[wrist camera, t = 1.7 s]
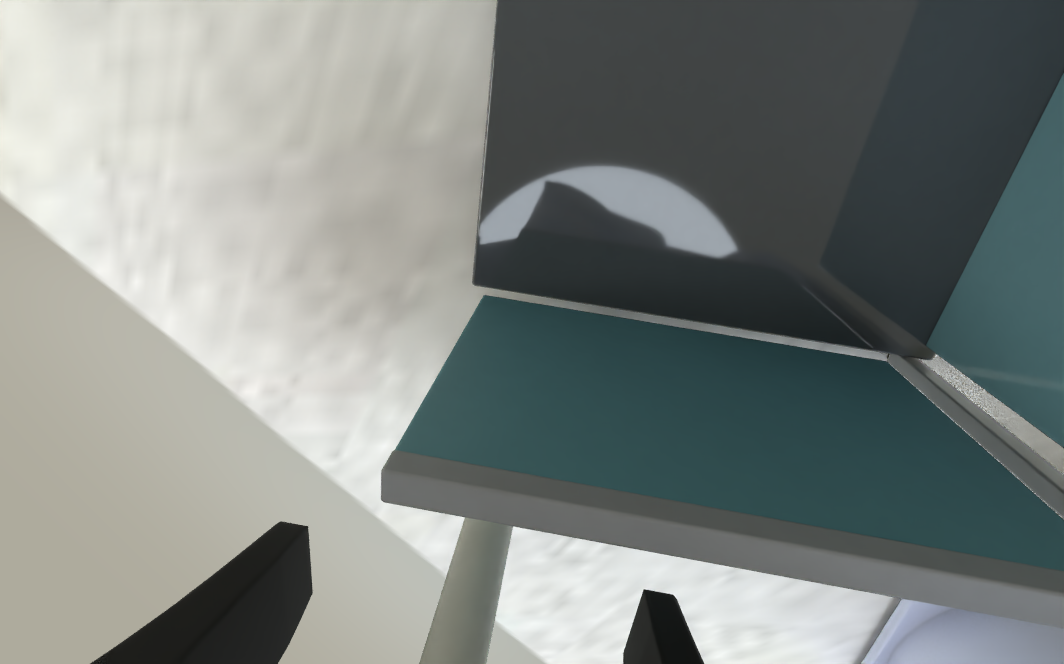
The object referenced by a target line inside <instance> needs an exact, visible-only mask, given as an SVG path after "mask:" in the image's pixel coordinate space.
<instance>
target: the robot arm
mask: <svg viewBox="0 0 1064 664" xmlns="http://www.w3.org/2000/svg"><path fill="white" fill-rule="evenodd" d="M311 595H312V577H311V562H310V548H309V533H308V526H303V525H297V524H292V523H287V522H279V523H277V524H276V525H275V526H273V527H272V528H271V529H270V530H268V531H267V532H266V533H265V534H263V535H262V536H261V537H260V538H258V539H257V540H256V541H255V542H254V543H252V544H251V545H250V546H249V547H247V548H246V549H245V550H244V551H242V552H241V553H240V554H239V555H237V556H236V557H235V558H234V559H232V560H231V561H230V562H229V563H228V564H226V565H225V566H224V567H222V568H221V569H220V570H219V571H217V572H216V573H215V574H214V575H212V576H211V577H210V578H208V579H207V580H206V581H204V582H203V583H202V584H201V585H199V586H198V587H197V588H196V589H194V590H193V591H191V592H190V593H189V594H187V595H186V596H185V597H184V598H182V599H181V600H180V601H178V602H177V603H176V604H175V605H173V606H172V607H170V608H169V609H168V610H166V611H165V612H164V613H162V614H161V615H159V616H158V617H157V618H155V619H154V620H152V621H151V622H150V623H148V624H147V625H146V626H144V627H143V628H141V629H140V630H138V631H137V632H136V633H134V634H133V635H131V636H130V637H129V638H127V639H126V640H124V641H123V642H122V643H120V644H119V645H117V646H116V647H114V648H113V649H111V650H110V651H108V652H107V653H106V654H104V655H103V656H101V657H100V658H98V659H97V660H95V661H94V662H92V663H91V664H278V662H279V660H280V659H281V657H282V655H283V654H284V652H285V650H286V648H287V647H288V645H289V643H290V641H291V639H292V637H293V635H294V633H295V630H296V628H297V626H298V624H299V622H300V620H301V618H302V615H303V613H304V611H305V609H306V606H307V604H308V602H309V600H310V597H311ZM623 664H704V662H703V660H702V658H701V655H700V653H699V651H698V649H697V647H696V644H695V642H694V640H693V637H692V635H691V633H690V630H689V628H688V626H687V623H686V621H685V618H684V616H683V614H682V611H681V609H680V606H679V604H678V601H677V599H676V598H675V596H674V595H671V594H666V593H661V592H655V591H650V590H645V589H644V590H643V594H642V597H641V600H640V603H639V606H638V609H637V612H636V615H635V619H634V622H633V625H632V628H631V631H630V634H629V637H628V640H627V643H626V647H625V650H624V653H623ZM861 664H1064V629H1063V628H1058V627H1053V626H1047V625H1042V624H1036V623H1031V622H1026V621H1020V620H1015V619H1010V618H1004V617H999V616H993V615H988V614H983V613H977V612H972V611H967V610H961V609H956V608H950V607H945V606H940V605H934V604H929V603H924V602H918V601H913V600H907V599H901V601H900V603H899V604H898V606H897V607H896V609H895V610H894V612H893V614H892V615H891V617H890V618H889V620H888V622H887V623H886V625H885V626H884V628H883V630H882V631H881V633H880V634H879V636H878V637H877V639H876V641H875V642H874V644H873V645H872V647H871V649H870V650H869V652H868V653H867V655H866V657H865V658H864V660H863V661H862V663H861Z"/></svg>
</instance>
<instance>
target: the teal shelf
mask: <svg viewBox="0 0 1064 664" xmlns="http://www.w3.org/2000/svg"><path fill="white" fill-rule="evenodd" d="M381 500H382V501H383V502H386V503H391V504H397V505H402V506H407V507H413V508H418V509H424V510H429V511H434V512H440V513H445V514H450V515H456V516H461V517H465V519H464V522H463V526H462V529H461V532H460V535H459V538H458V542H457V545H456V548H455V551H454V554H453V558H452V561H451V564H450V567H449V570H448V574H447V577H446V580H445V584H444V587H443V590H442V593H441V596H440V599H439V603H438V606H437V609H436V612H435V615H434V619H433V622H432V625H431V628H430V631H429V634H428V637H427V641H426V644H425V647H424V650H423V653H422V657H421V660H420V663H419V664H486V662H487V657H488V651H489V646H490V641H491V636H492V631H493V626H494V621H495V616H496V610H497V605H498V600H499V595H500V590H501V585H502V579H503V574H504V569H505V564H506V559H507V554H508V549H509V543H510V538H511V533H512V528H513V526H515V527H520V528H526V529H531V530H537V531H542V532H547V533H553V534H558V535H563V536H569V537H574V538H580V539H585V540H590V541H596V542H601V543H606V544H612V545H617V546H623V547H628V548H633V549H639V550H644V551H649V552H655V553H660V554H666V555H671V556H676V557H682V558H687V559H692V560H698V561H703V562H709V563H714V564H719V565H725V566H730V567H735V568H741V569H746V570H752V571H757V572H762V573H768V574H773V575H778V576H784V577H789V578H795V579H800V580H805V581H811V582H816V583H821V584H827V585H832V586H838V587H843V588H848V589H854V590H859V591H864V592H870V593H875V594H881V595H886V596H891V597H897V598H902V599H907V600H913V601H918V602H924V603H929V604H934V605H940V606H945V607H950V608H956V609H961V610H967V611H972V612H977V613H983V614H988V615H993V616H999V617H1004V618H1010V619H1015V620H1020V621H1026V622H1031V623H1036V624H1042V625H1047V626H1053V627H1058V628H1063V629H1064V520H1063V519H1062V518H1061V517H1060V516H1059V515H1058V514H1056V513H1055V512H1054V511H1053V510H1052V509H1051V508H1050V507H1049V506H1048V505H1046V504H1045V503H1044V502H1043V501H1042V500H1041V499H1040V498H1039V497H1037V496H1036V495H1035V494H1034V493H1033V492H1032V491H1031V490H1030V489H1029V488H1027V487H1026V486H1025V485H1024V484H1023V483H1022V482H1021V481H1020V480H1018V479H1017V478H1016V477H1015V476H1014V475H1013V474H1012V473H1011V472H1010V471H1008V470H1007V469H1006V468H1005V467H1004V466H1003V465H1002V464H1001V463H999V462H998V461H997V460H996V459H995V458H994V457H993V456H992V455H991V454H989V453H988V452H987V451H986V450H985V449H984V448H983V447H982V446H980V445H979V444H978V443H977V442H976V441H975V440H974V439H973V438H971V437H970V436H969V435H968V434H967V433H966V432H965V431H964V430H963V429H961V428H960V427H959V426H958V425H957V424H956V423H955V422H954V421H952V420H951V419H950V418H949V417H948V416H947V415H946V414H945V413H944V412H942V411H941V410H940V409H939V408H938V407H937V406H936V405H935V404H933V403H932V402H931V401H930V400H929V399H928V398H927V397H926V396H925V395H923V394H922V393H921V392H920V391H919V390H918V389H917V388H916V387H914V386H913V385H912V384H911V383H910V382H909V381H908V380H907V379H905V378H904V377H903V376H902V375H901V374H900V373H899V372H898V371H897V370H895V369H894V368H893V367H892V366H891V365H890V364H889V363H888V362H886V361H881V360H875V359H869V358H862V357H856V356H850V355H844V354H838V353H832V352H826V351H820V350H814V349H808V348H802V347H796V346H790V345H784V344H778V343H772V342H766V341H760V340H753V339H747V338H741V337H735V336H729V335H723V334H717V333H711V332H705V331H699V330H693V329H687V328H681V327H675V326H669V325H663V324H657V323H651V322H644V321H638V320H632V319H626V318H620V317H614V316H608V315H602V314H596V313H590V312H584V311H578V310H572V309H566V308H560V307H554V306H548V305H542V304H536V303H529V302H523V301H517V300H511V299H505V298H499V297H493V296H487V295H484V296H483V298H482V299H481V301H480V303H479V304H478V306H477V308H476V310H475V311H474V313H473V315H472V317H471V318H470V320H469V322H468V324H467V325H466V327H465V329H464V331H463V332H462V334H461V336H460V338H459V339H458V341H457V343H456V345H455V346H454V348H453V350H452V351H451V353H450V355H449V357H448V358H447V360H446V362H445V364H444V365H443V367H442V369H441V371H440V372H439V374H438V376H437V378H436V379H435V381H434V383H433V385H432V386H431V388H430V390H429V392H428V393H427V395H426V397H425V398H424V400H423V402H422V404H421V405H420V407H419V409H418V411H417V412H416V414H415V416H414V418H413V419H412V421H411V423H410V425H409V426H408V428H407V430H406V432H405V433H404V435H403V437H402V439H401V440H400V442H399V444H398V445H397V447H396V449H395V451H393V452H392V453H391V455H390V457H389V458H388V460H387V462H386V464H385V465H384V467H383V469H382V471H381Z"/></svg>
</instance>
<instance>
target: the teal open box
mask: <svg viewBox="0 0 1064 664" xmlns="http://www.w3.org/2000/svg"><path fill="white" fill-rule="evenodd" d="M472 283H473V285H475V286H480V287H487V288H493V289H499V290H505V291H511V292H517V293H523V294H529V295H535V296H541V297H547V298H553V299H560V300H566V301H572V302H578V303H584V304H590V305H596V306H602V307H608V308H614V309H620V310H626V311H632V312H639V313H645V314H651V315H657V316H663V317H669V318H675V319H681V320H687V321H693V322H699V323H705V324H712V325H718V326H724V327H730V328H736V329H742V330H748V331H754V332H760V333H766V334H772V335H778V336H785V337H791V338H797V339H803V340H809V341H815V342H821V343H827V344H833V345H839V346H845V347H851V348H857V349H864V350H870V351H876V352H882V353H888V354H890V355H889V357H888V359H887V362H889V363H890V364H891V365H892V366H893V367H894V368H895V369H896V370H898V371H899V372H900V373H901V374H902V375H903V376H904V377H905V378H906V379H908V380H909V381H910V382H911V383H912V384H913V385H914V386H915V387H917V388H918V389H919V390H920V391H921V392H922V393H923V394H924V395H926V396H927V397H928V398H929V399H930V400H931V401H932V402H933V403H935V404H936V405H937V406H938V407H939V408H940V409H941V410H942V411H944V412H945V413H946V414H947V415H948V416H949V417H950V418H951V419H952V420H954V421H955V422H956V423H957V424H958V425H959V426H960V427H961V428H963V429H964V430H965V431H966V432H967V433H968V434H969V435H970V436H972V437H973V438H974V439H975V440H976V441H977V442H978V443H979V444H981V445H982V446H983V447H984V448H985V449H986V450H987V451H988V452H990V453H991V454H992V455H993V456H994V457H995V458H996V459H997V460H998V461H1000V462H1001V463H1002V464H1003V465H1004V466H1005V467H1006V468H1007V469H1009V470H1010V471H1011V472H1012V473H1013V474H1014V475H1015V476H1016V477H1018V478H1019V479H1020V480H1021V481H1022V482H1023V483H1024V484H1025V485H1027V486H1028V487H1029V488H1030V489H1031V490H1032V491H1033V492H1034V493H1036V494H1037V495H1038V496H1039V497H1040V498H1041V499H1042V500H1043V501H1044V502H1046V503H1047V504H1048V505H1049V506H1050V507H1051V508H1052V509H1053V510H1055V511H1056V512H1057V513H1058V514H1059V515H1060V516H1061V517H1062V518H1064V474H1062V473H1061V472H1060V471H1059V470H1057V469H1056V468H1055V467H1054V466H1052V465H1051V464H1050V463H1049V462H1047V461H1046V460H1045V459H1044V458H1042V457H1041V456H1040V455H1039V454H1037V453H1036V452H1035V451H1034V450H1032V449H1031V448H1030V447H1029V446H1027V445H1026V444H1025V443H1024V442H1022V441H1021V440H1020V439H1019V438H1017V437H1016V436H1015V435H1013V434H1012V433H1011V432H1010V431H1008V430H1007V429H1006V428H1005V427H1003V426H1002V425H1001V424H1000V423H998V422H997V421H996V420H995V419H993V418H992V417H991V416H990V415H988V414H987V413H986V412H985V411H983V410H982V409H981V408H980V407H978V406H977V405H976V404H975V403H973V402H972V401H971V400H970V399H968V398H967V397H966V396H965V395H963V394H962V393H961V392H960V391H958V390H957V389H956V388H955V387H953V386H952V385H951V384H950V383H948V382H947V381H946V380H944V379H943V378H942V377H941V376H939V375H938V374H937V373H936V372H934V371H933V370H932V369H931V368H929V367H928V366H927V365H926V364H924V363H923V362H922V361H921V360H919V359H924V360H932V359H933V358H934V356H935V354H937V355H939V356H940V357H941V358H943V359H944V360H945V361H947V362H948V363H950V364H951V365H952V366H954V367H955V368H956V369H958V370H959V371H960V372H962V373H963V374H964V375H966V376H967V377H968V378H970V379H971V380H972V381H974V382H975V383H977V384H978V385H979V386H981V387H982V388H983V389H985V390H986V391H987V392H989V393H990V394H991V395H993V396H994V397H995V398H997V399H998V400H999V401H1001V402H1002V403H1004V404H1005V405H1006V406H1008V407H1009V408H1010V409H1012V410H1013V411H1014V412H1016V413H1017V414H1018V415H1020V416H1021V417H1022V418H1024V419H1025V420H1026V421H1028V422H1029V423H1031V424H1032V425H1033V426H1035V427H1036V428H1037V429H1039V430H1040V431H1041V432H1043V433H1044V434H1045V435H1047V436H1048V437H1049V438H1051V439H1052V440H1054V441H1055V442H1056V443H1058V444H1059V445H1060V446H1062V447H1063V448H1064V0H497V7H496V18H495V29H494V41H493V52H492V64H491V75H490V86H489V98H488V109H487V120H486V132H485V143H484V154H483V166H482V177H481V188H480V200H479V211H478V222H477V234H476V245H475V256H474V268H473V279H472Z"/></svg>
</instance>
